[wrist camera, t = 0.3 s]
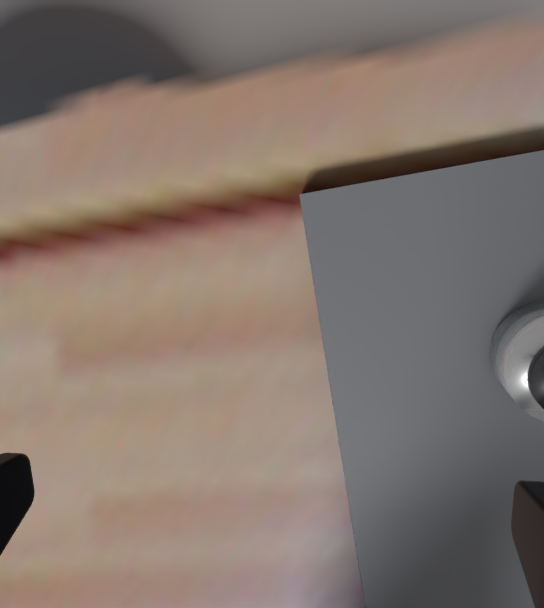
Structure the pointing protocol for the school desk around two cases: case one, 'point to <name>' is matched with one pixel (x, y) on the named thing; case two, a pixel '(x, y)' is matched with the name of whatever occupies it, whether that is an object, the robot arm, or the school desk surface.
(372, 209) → the base plate
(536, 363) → the glossy black ball
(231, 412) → the school desk surface
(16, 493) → the robot arm
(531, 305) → the link
